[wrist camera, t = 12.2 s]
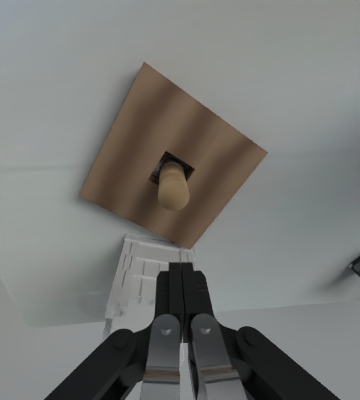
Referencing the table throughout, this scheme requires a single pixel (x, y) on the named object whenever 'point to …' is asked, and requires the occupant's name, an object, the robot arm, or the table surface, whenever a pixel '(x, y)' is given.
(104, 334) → the castle model
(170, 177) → the peg
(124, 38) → the table surface
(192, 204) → the board
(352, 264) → the label tape cartridge
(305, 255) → the table surface
